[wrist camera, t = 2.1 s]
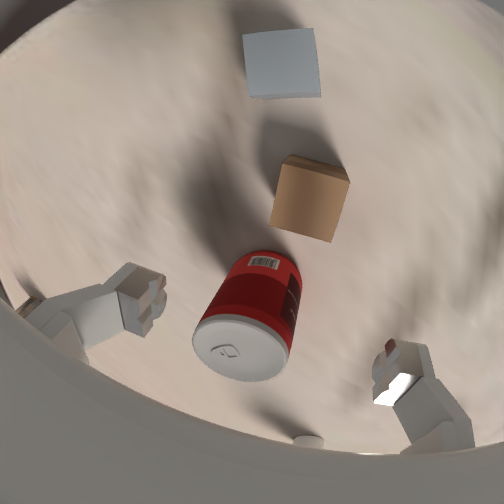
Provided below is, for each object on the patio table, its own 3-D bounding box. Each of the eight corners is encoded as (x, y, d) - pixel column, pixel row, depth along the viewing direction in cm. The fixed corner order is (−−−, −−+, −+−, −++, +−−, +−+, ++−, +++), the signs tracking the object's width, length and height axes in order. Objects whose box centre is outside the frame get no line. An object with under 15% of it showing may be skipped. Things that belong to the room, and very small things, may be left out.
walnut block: (345, 169, 22) (350, 182, 18) (330, 219, 25) (330, 242, 21) (290, 154, 23) (282, 163, 19) (279, 205, 25) (268, 225, 21)
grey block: (315, 45, 17) (313, 28, 13) (321, 97, 20) (320, 92, 15) (258, 49, 19) (242, 34, 15) (263, 99, 21) (248, 96, 17)
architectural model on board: (55, 305, 49) (28, 330, 41) (59, 315, 51) (34, 340, 42) (32, 293, 51) (8, 315, 43) (36, 302, 53) (13, 324, 45)
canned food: (218, 269, 31) (173, 337, 21) (274, 233, 27) (243, 303, 18) (260, 316, 32) (233, 389, 23) (316, 289, 29) (306, 370, 19)
